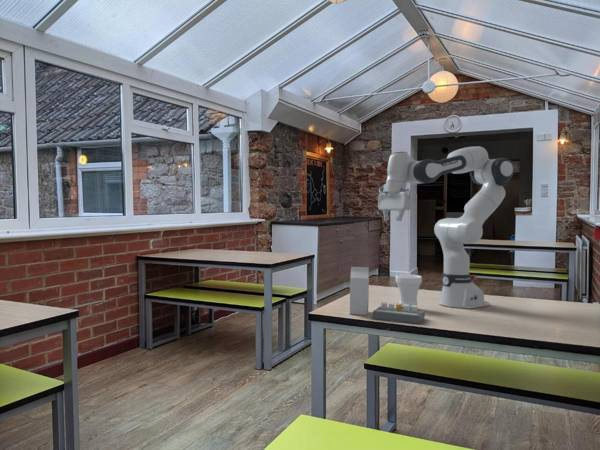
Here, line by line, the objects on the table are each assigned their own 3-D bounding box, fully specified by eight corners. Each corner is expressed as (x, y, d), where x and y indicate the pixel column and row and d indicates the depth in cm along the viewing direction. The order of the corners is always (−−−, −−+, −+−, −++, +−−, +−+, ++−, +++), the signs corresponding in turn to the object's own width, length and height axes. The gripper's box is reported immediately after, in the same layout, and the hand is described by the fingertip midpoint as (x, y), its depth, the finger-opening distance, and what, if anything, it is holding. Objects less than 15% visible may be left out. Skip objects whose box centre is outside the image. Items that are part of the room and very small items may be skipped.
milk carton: (367, 315, 197) (368, 268, 196) (349, 314, 198) (350, 267, 198) (368, 311, 204) (369, 266, 203) (351, 310, 205) (352, 265, 205)
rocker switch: (396, 310, 192) (396, 304, 191) (397, 309, 193) (396, 303, 192) (401, 310, 191) (401, 305, 190) (402, 309, 192) (401, 304, 191)
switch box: (372, 318, 191) (373, 303, 191) (380, 313, 200) (380, 299, 200) (419, 324, 184) (419, 308, 183) (424, 318, 193) (424, 303, 192)
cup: (422, 312, 204) (423, 278, 203) (395, 310, 206) (395, 277, 205) (420, 306, 215) (421, 274, 214) (394, 305, 217) (395, 273, 216)
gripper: (416, 188, 202) (413, 222, 202) (388, 190, 221) (385, 221, 221) (404, 186, 200) (400, 220, 200) (376, 188, 218) (373, 219, 218)
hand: (392, 220), depth 210 cm, fingers open, 8 cm apart
